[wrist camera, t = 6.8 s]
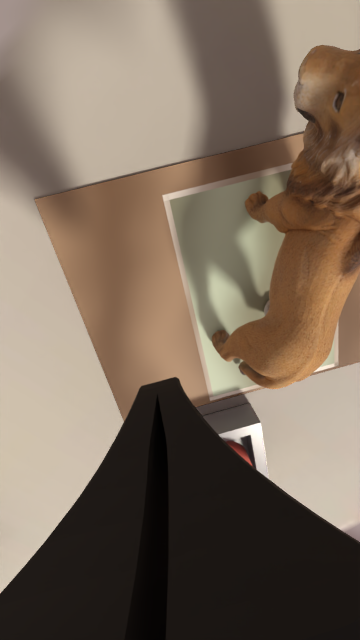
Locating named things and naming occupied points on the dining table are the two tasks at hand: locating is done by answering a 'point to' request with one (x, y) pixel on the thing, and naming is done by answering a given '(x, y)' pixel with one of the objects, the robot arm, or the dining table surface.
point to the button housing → (242, 432)
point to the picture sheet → (179, 269)
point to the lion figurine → (309, 230)
